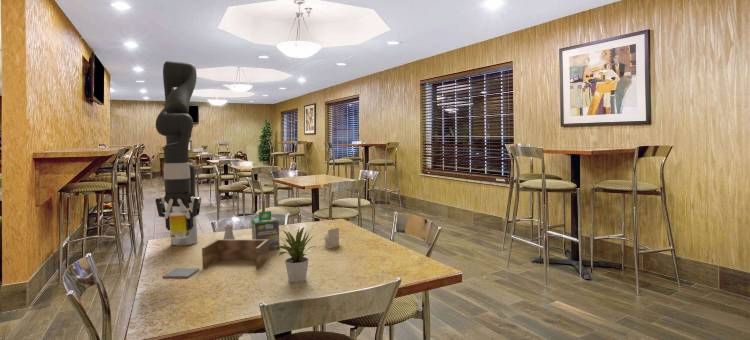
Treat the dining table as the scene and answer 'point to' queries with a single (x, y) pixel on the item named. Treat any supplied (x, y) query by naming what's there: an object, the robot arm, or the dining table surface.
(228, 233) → the flask
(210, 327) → the dining table surface
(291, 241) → the house plant
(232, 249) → the walnut box
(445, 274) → the dining table surface
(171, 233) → the supplement bottle
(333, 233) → the architectural model
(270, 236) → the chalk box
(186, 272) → the grey pad
